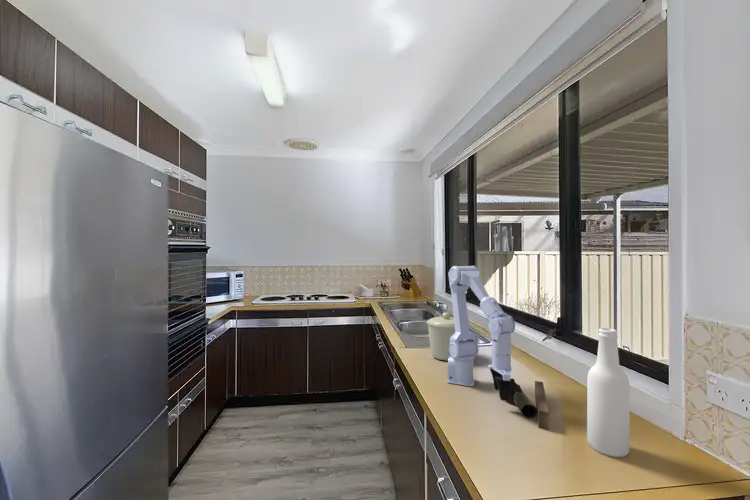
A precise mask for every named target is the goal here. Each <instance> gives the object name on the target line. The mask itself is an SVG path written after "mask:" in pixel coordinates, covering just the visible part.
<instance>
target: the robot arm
mask: <svg viewBox="0 0 750 500" xmlns="http://www.w3.org/2000/svg"><path fill="white" fill-rule="evenodd" d="M447 273H448V282H449V288H450V294H451V304H452V311H453V313H452V315H453V318H454V324H455V334H454V335H453V336H451V337H450V346H449V352H450V354H451V356H452V357H449V359H448V361H447V381H446V383H448V384H452V385H453V384H454V385H460V386H466V387H467V386H468V387H474V386H475V385H474V384H475V383H476V378H475V377H474V360H475V359H476V356H477V355H478V354H479V345H478V343H477V340H476V339H477V338H476V336H475V335H474V334H472V333H471V331H470V325H469V315H468V305H467V297H466V290H468V288H470V289H471V291H472V292H473V294H474V295H475V296H476V297H477V299H478V301H480V303H479V307H480V310H481V311H482V312H483V314H484V315H485V317H486V319H487V320H488V324H487V326H488V330H489V332H490V338H491V344H492V345H491V348H492V349H491V364H488V369H489V371H490V373H491V377H492V379H493V385H494V386H493V388H494V389H495V390H496V391H498V394H499V398H500V400H501V401H505V400H508V398H509V394H510V390H511V387H512V386H513V384H514V382H515V383H516V381H515V378H511V372H512V366H511V365H512V364H511V363H512V352H511V351H512V340H511V339H512V333H513V332H514V331H515V329H516V323H515V320H514V318H513V316H511V315H509V314H507V313H506V312H505V311H504V310H503V309H502V307H501V306H500V305H499V303H498V301H497V299H496V298H494V297H491V296H490V295H489V294H488V292H487V289H486V288H485V285H484V284H483V283H482V280H481V272H480V271H479V269H478V267H476V266H475V265H464V266H463V265H461V266H459V265H458V266H457V265H453V266H452V267H451V268H450V269H449V270H448V272H447ZM460 340H463V341H460Z"/></svg>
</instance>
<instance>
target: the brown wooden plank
mask: <svg viewBox="0 0 750 500" xmlns="http://www.w3.org/2000/svg"><path fill="white" fill-rule="evenodd" d="M534 398H535V407H536V409H537V412H538V413H537V415H536V418H537V423H538V429H544V430H549V429H550V423H549V422H550V421H549V420H550V417H549V415H550V414H549V412H550V411H549V407H548V401H547V397H546V391H545V386H544V382H543V381H538V380H534Z"/></svg>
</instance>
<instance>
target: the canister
mask: <svg viewBox="0 0 750 500" xmlns="http://www.w3.org/2000/svg"><path fill="white" fill-rule="evenodd" d="M426 324H427V329H428V338H429V339H428V340H429V348H430V353H431V355H432V357H434V358H435V359H437V360H440V361H447V362H448V359H449V357H452V356H451V354H450V352H449V346H450V337H451V336H453V335H454V334H455V324H454V316H453V317H451V315H450V313H449V312H442V314H441V316H435V317H431V318H430V319H428V320H426ZM460 341H464V340H460Z"/></svg>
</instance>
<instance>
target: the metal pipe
mask: <svg viewBox="0 0 750 500" xmlns="http://www.w3.org/2000/svg"><path fill="white" fill-rule="evenodd" d="M504 401H505V402H507V403H513V404H515V405H516V407H517V409H518V410H519V411H520V414H521V415H522V416H523V417H525V418H527V419H534V418H537V413H538V412H537V409H536V405H535V404H533V403H532V401H531V400H530V399H529V398H528V396H527V395H526V394H525V393H524V392H523V390H522V388H521V385H520V384H517V382H516V381H515V382H514V384H513V386H512V387H511V390H510V394H509V398H508V400H504Z"/></svg>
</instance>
